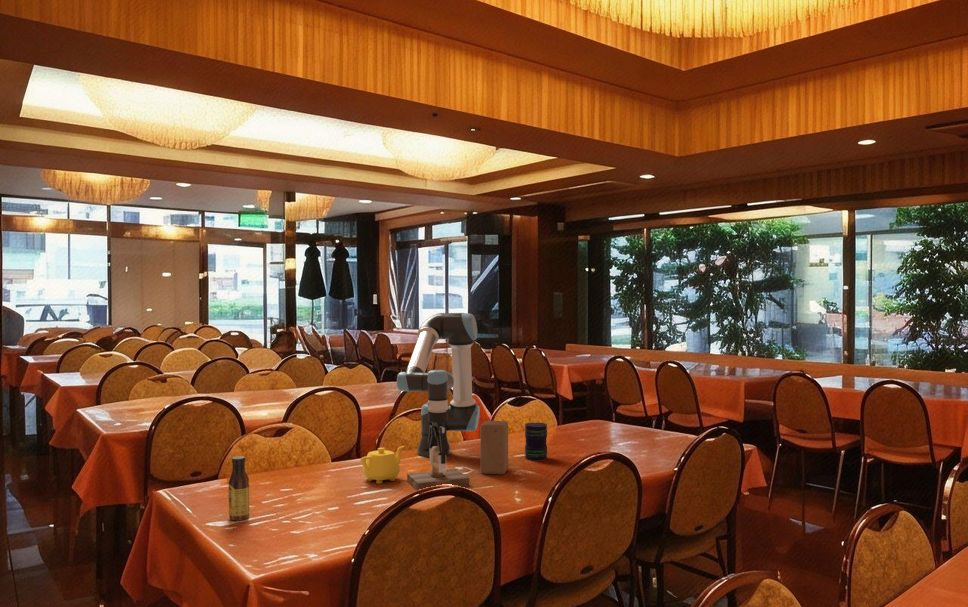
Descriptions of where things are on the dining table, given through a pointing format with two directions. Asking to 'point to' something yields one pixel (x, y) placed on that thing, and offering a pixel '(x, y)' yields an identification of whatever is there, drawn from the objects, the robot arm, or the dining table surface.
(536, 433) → the storage jar
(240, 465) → the sauce bottle
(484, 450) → the wooden block
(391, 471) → the teapot
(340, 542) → the dining table surface
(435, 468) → the peg
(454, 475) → the board
